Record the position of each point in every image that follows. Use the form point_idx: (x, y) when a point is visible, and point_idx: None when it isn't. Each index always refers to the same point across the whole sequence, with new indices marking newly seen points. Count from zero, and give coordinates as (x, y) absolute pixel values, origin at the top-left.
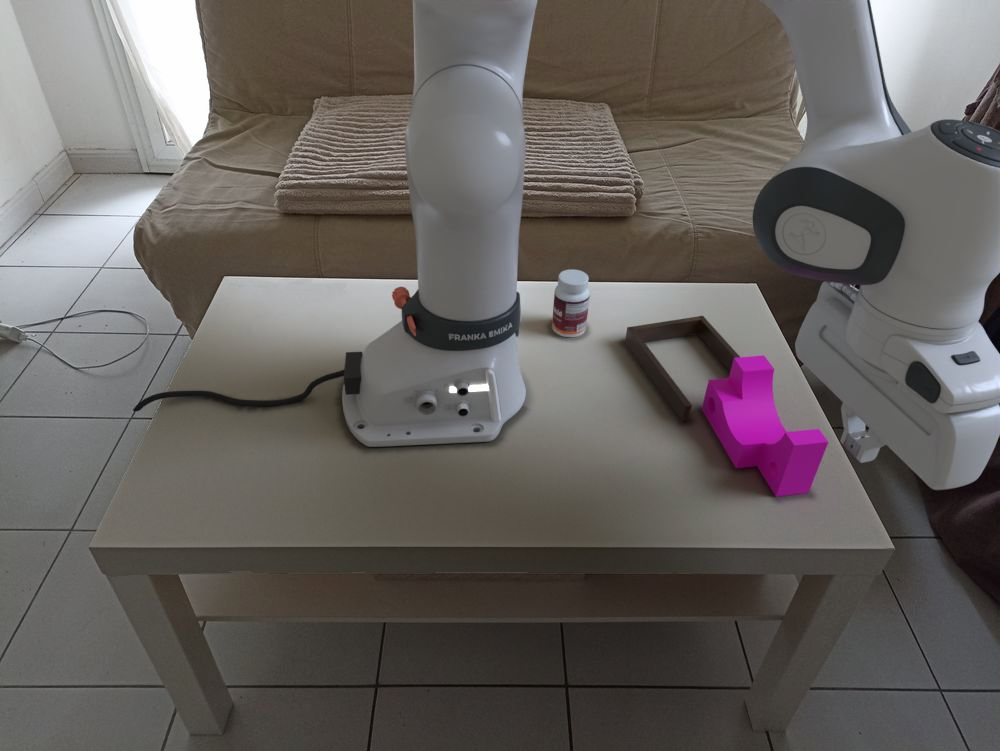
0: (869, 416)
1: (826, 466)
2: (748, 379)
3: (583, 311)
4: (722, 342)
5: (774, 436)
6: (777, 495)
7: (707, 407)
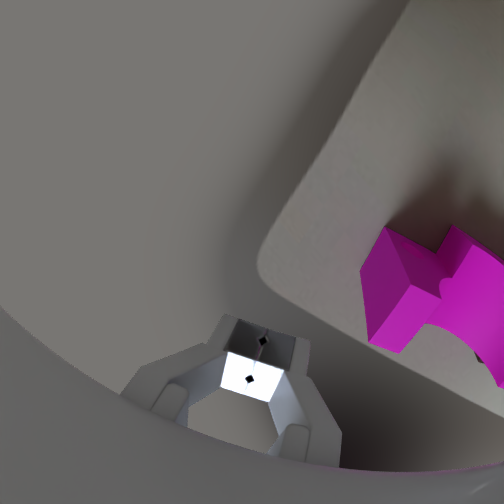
0: (130, 456)
1: None
2: None
3: None
4: None
5: (446, 304)
6: (384, 229)
7: None
